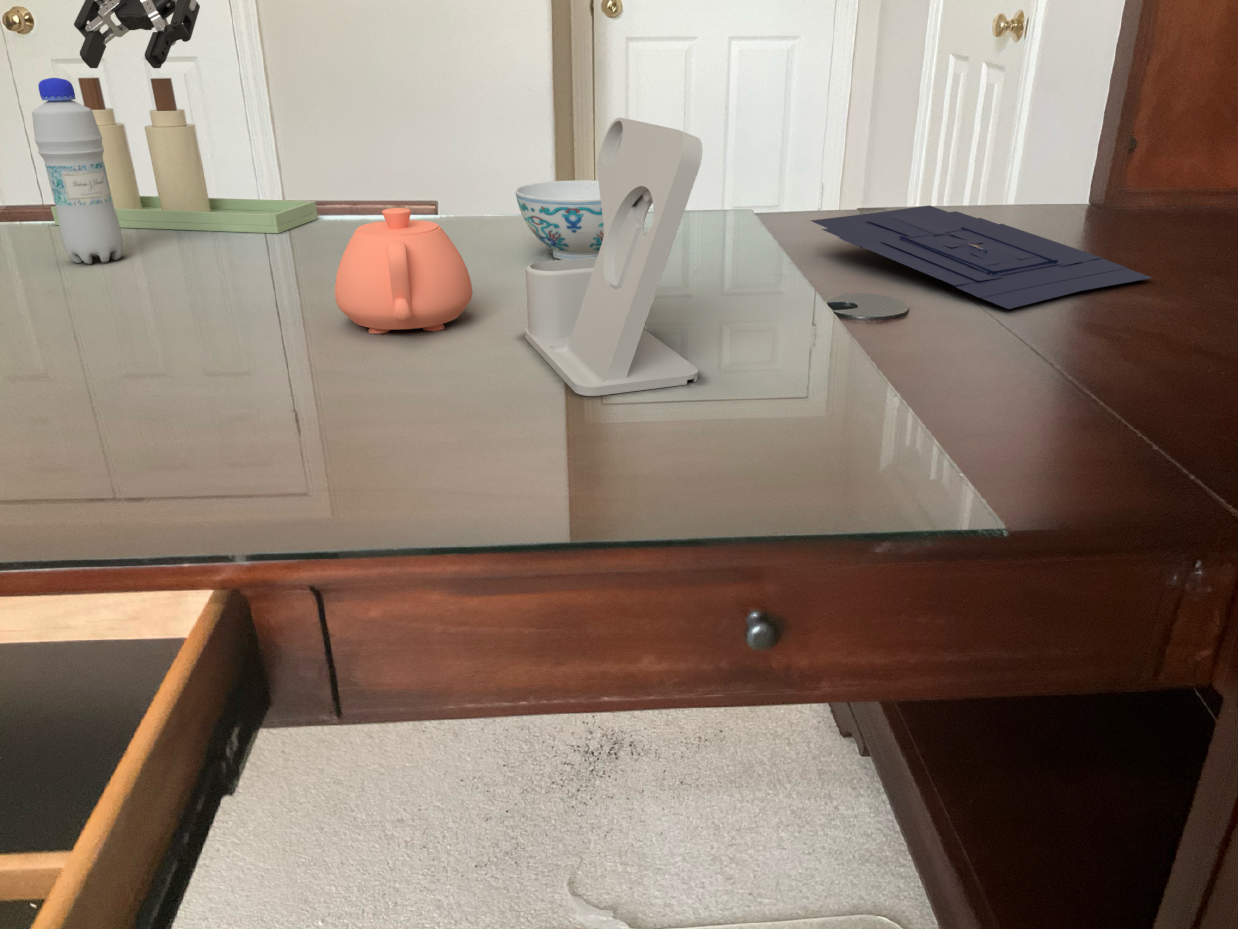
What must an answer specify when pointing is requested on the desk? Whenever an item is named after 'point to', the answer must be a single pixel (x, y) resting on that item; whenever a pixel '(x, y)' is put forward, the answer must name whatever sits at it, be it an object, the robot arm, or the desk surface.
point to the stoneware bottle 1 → (112, 147)
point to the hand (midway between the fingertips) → (119, 63)
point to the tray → (219, 215)
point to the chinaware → (564, 216)
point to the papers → (979, 254)
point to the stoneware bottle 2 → (175, 153)
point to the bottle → (76, 173)
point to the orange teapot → (401, 275)
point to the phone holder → (618, 269)
